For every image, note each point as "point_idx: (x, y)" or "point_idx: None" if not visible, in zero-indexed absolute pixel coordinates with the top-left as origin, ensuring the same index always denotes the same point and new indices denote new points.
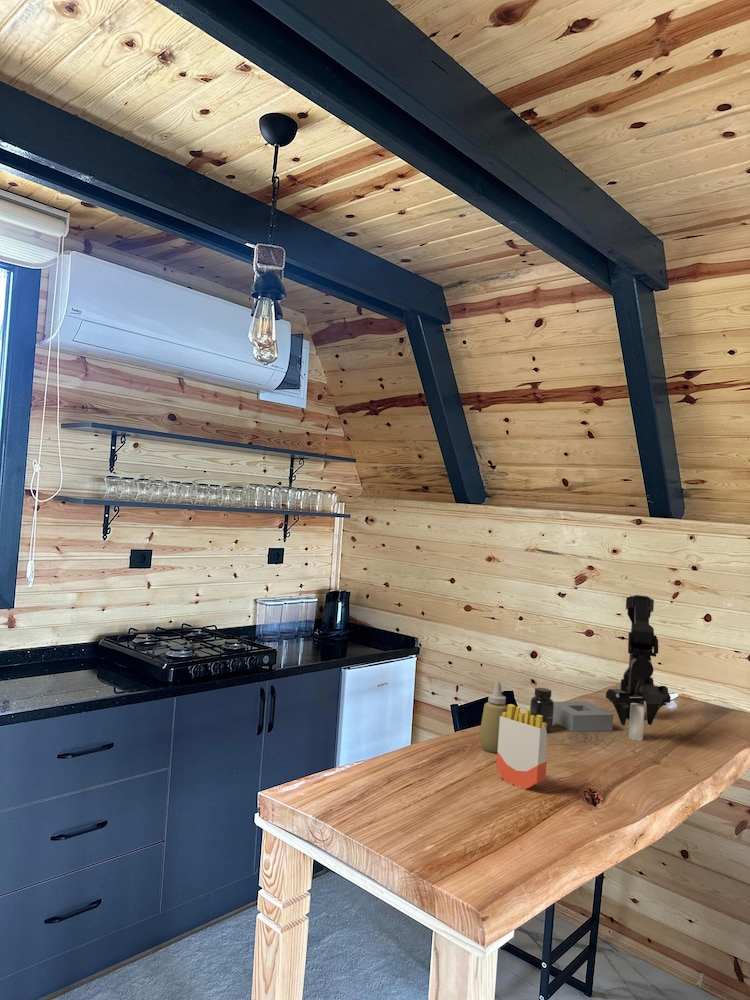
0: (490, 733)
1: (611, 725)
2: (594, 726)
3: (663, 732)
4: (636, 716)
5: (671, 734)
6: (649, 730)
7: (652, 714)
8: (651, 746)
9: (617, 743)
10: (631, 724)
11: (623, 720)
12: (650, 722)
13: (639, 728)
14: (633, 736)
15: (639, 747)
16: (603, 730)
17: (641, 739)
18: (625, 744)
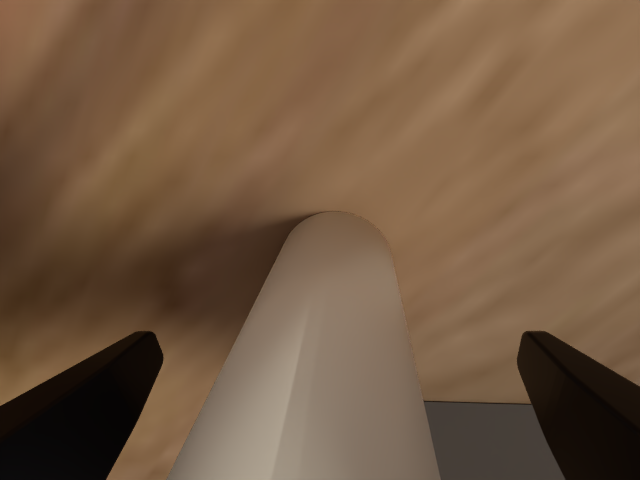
0: None
1: (434, 440)
2: None
3: (59, 356)
4: (393, 418)
5: (16, 325)
6: None
7: (8, 446)
8: (304, 59)
9: (634, 150)
10: (409, 342)
11: (628, 380)
12: (132, 348)
13: (338, 264)
14: (384, 246)
15: (473, 18)
16: (494, 408)
17: (313, 219)
18: (565, 119)
